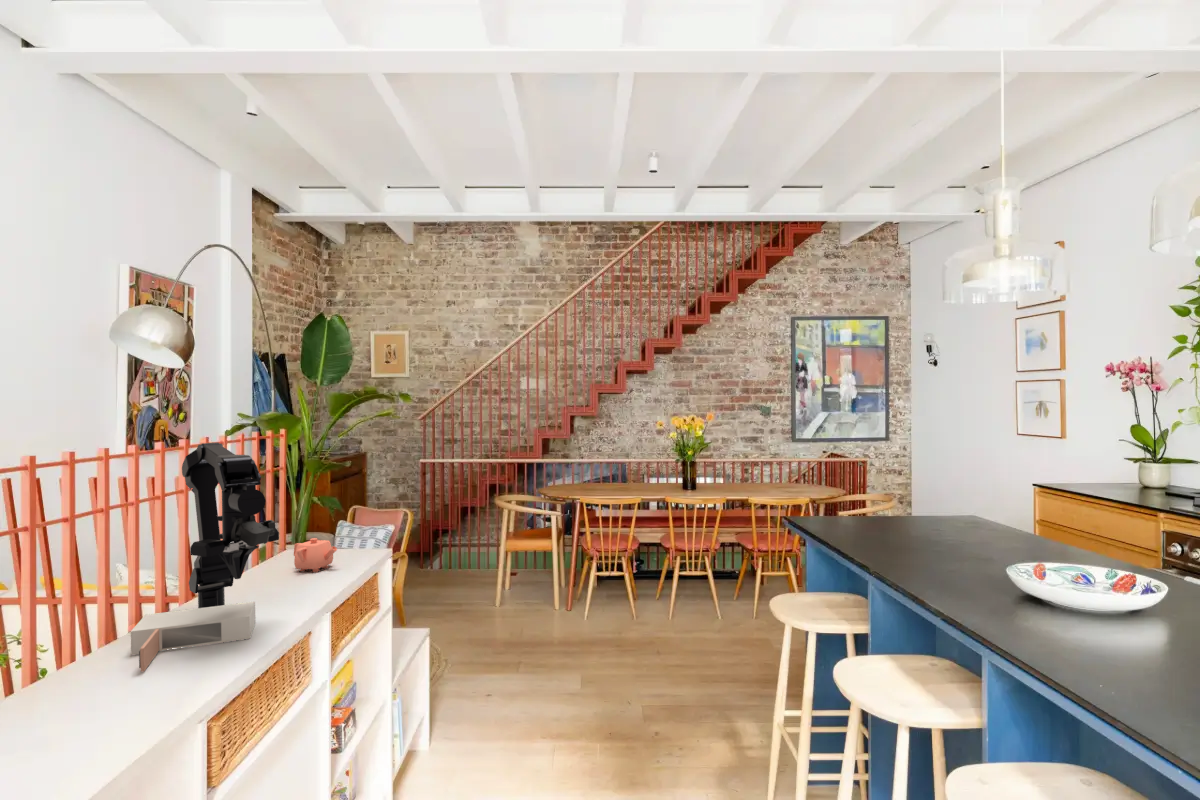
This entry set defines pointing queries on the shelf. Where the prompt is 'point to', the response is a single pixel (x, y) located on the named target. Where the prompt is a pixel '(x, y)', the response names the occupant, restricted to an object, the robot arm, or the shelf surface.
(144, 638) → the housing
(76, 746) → the shelf surface
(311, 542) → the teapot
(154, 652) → the side door
